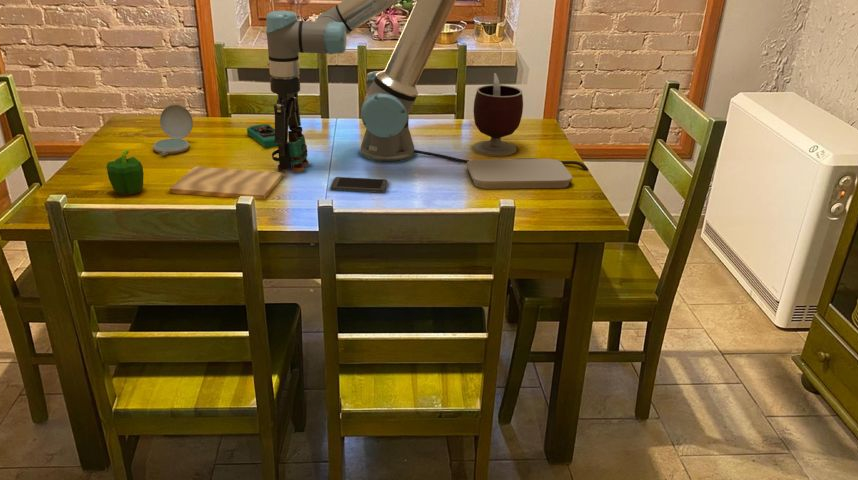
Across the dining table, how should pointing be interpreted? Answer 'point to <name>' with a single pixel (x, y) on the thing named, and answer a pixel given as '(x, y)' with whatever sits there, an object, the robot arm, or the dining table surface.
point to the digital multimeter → (263, 135)
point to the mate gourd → (497, 116)
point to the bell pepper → (126, 174)
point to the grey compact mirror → (174, 130)
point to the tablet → (518, 173)
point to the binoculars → (295, 151)
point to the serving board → (227, 182)
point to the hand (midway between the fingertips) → (289, 160)
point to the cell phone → (359, 184)
